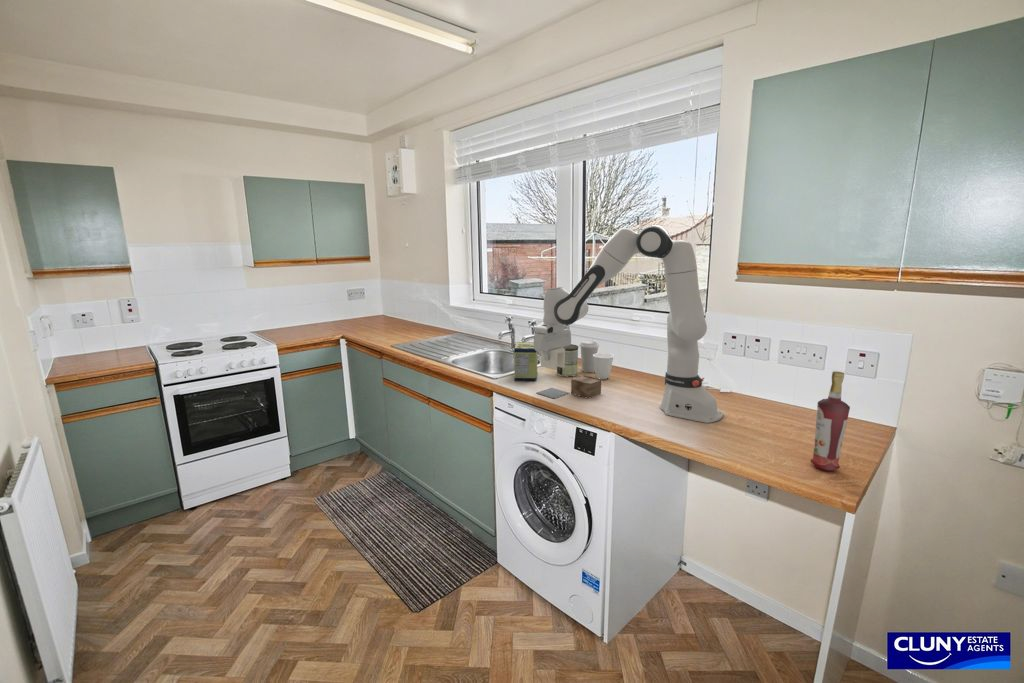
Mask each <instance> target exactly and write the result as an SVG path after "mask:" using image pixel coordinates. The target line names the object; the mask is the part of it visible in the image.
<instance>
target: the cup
mask: <svg viewBox="0 0 1024 683" xmlns="http://www.w3.org/2000/svg"><path fill="white" fill-rule="evenodd" d="M614 357H615V355H614V354H612V353H606V352H605V353H604V352H597V353H596V354H593V358H594V365H595V372H594V373H595V378H600V379H602V380H608V379H609V378H610V376H611V375H610V374H611V370H612V365H613V360H614ZM607 378H608V379H607Z"/></svg>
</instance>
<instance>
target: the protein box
mask: <svg viewBox="0 0 1024 683" xmlns="http://www.w3.org/2000/svg"><path fill="white" fill-rule="evenodd" d="M513 351H514V353H513V356H514V364H513V365H514V368H513V369H514V370H513V371H514V373H513V374H514V381H515V382H518V381H519V382H536V381H537V379H538V361H539V360H538V352H539V351H535V349H534V342H525V341H523V342H518V341H517V342H516V344H515V347H514V348H513Z"/></svg>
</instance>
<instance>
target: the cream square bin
mask: <svg viewBox="0 0 1024 683" xmlns="http://www.w3.org/2000/svg"><path fill="white" fill-rule="evenodd" d="M548 356H550V360H548V361H546V360H544V355H543V352H540V367H543V368H546V369H549V370H555V371H557V367H561V368H564V367H565V349H563V348H556V349H552V350H548Z"/></svg>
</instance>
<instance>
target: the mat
mask: <svg viewBox="0 0 1024 683" xmlns="http://www.w3.org/2000/svg"><path fill="white" fill-rule="evenodd" d="M536 393H539V394H538V395H540V394H542V395H541V396H543V395H545V396H544V397H546V396H548V397H547V398H549V397H552V398H551V399H553V398H555V399H557V398H556V397H558V398H560V397H559V396H561V397H563V396H562V395H564V396H566V395H565V394H567V395H569V394H570V392H568V391H565V390H561V389H558V388H554V387H550V388H546V389H543V390H541V391H537V392H536ZM568 393H569V394H568Z"/></svg>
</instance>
